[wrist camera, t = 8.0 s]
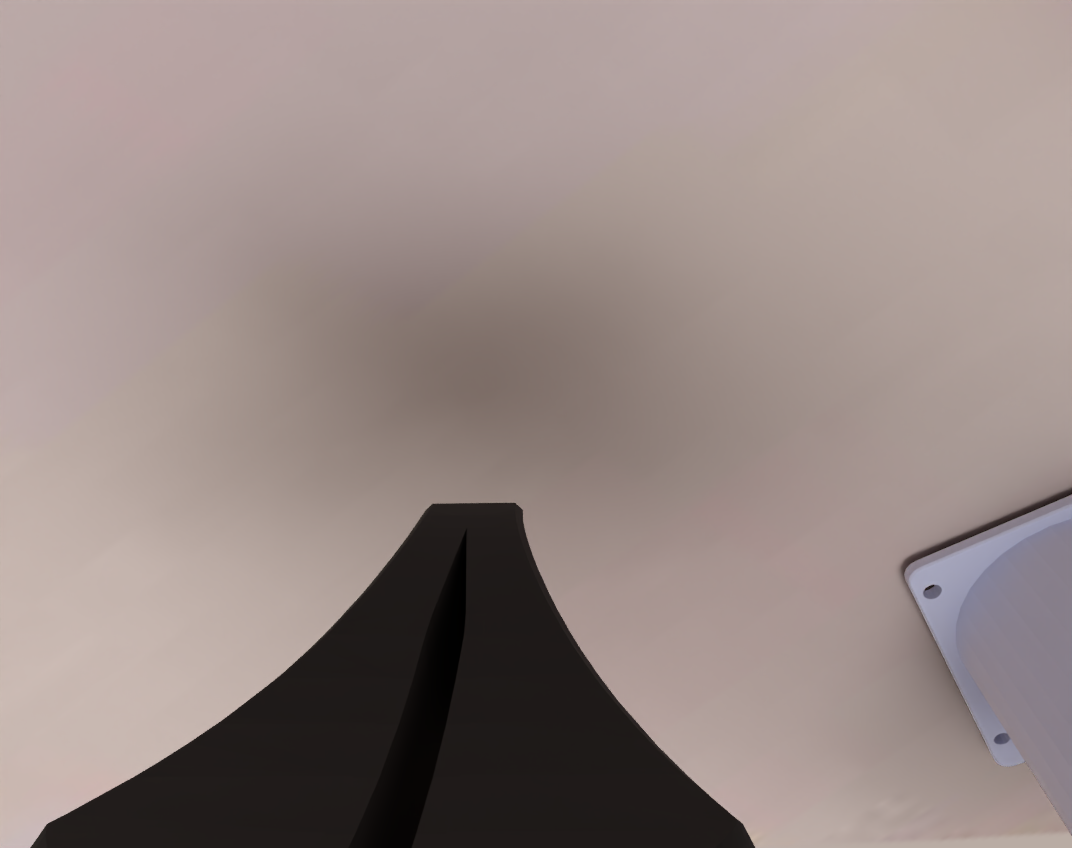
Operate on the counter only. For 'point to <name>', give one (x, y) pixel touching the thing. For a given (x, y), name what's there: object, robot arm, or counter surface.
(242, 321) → the counter surface
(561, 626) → the robot arm
